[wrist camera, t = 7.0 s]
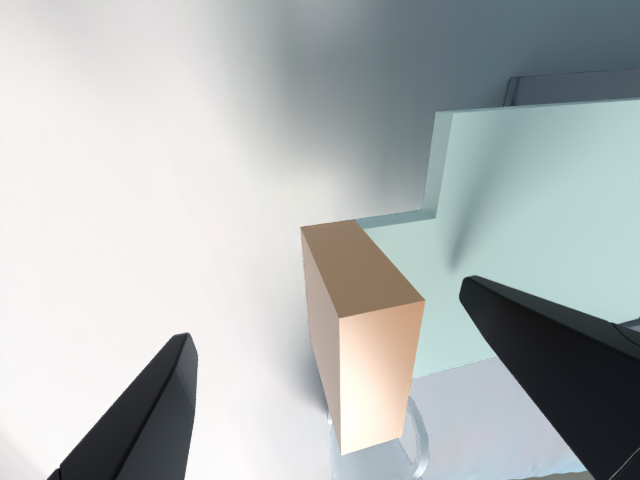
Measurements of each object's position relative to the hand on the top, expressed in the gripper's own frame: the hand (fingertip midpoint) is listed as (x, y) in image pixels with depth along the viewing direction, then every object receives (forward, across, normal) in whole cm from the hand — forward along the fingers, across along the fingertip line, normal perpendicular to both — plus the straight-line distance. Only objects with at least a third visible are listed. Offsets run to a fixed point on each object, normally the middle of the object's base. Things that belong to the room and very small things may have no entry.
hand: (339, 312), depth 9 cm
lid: (+2, -8, 0) cm, 8 cm away
